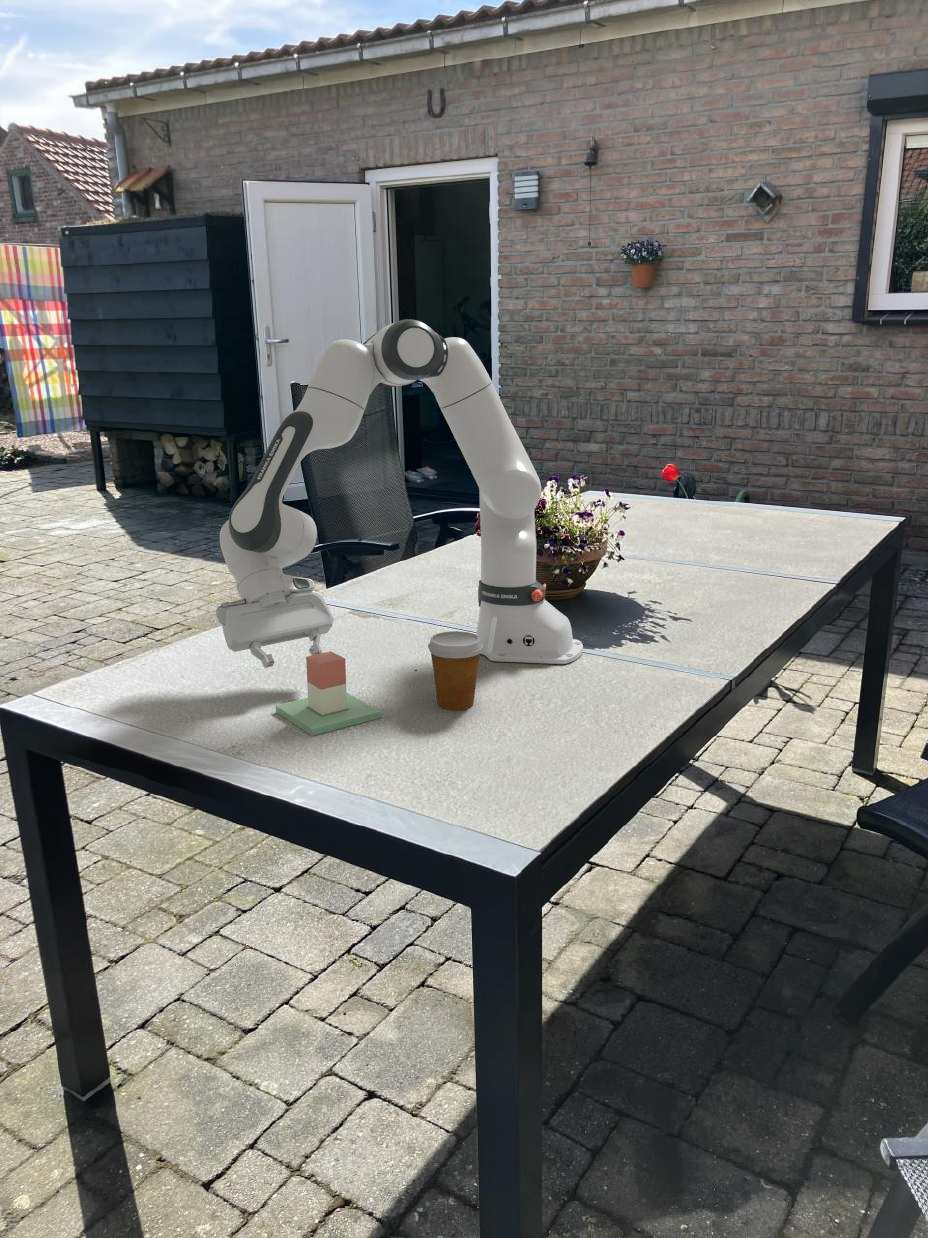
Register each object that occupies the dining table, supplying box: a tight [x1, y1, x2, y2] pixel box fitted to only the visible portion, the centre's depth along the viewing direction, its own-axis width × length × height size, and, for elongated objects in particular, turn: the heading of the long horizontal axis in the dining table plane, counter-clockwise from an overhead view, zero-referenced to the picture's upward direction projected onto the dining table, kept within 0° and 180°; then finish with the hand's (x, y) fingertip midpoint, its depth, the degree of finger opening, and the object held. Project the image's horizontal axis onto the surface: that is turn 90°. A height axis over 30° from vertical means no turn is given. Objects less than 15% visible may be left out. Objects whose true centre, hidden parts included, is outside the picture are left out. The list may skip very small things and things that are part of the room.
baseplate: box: [275, 692, 381, 737], centre depth 175 cm, size 13×13×1 cm
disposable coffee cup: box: [427, 630, 483, 711], centre depth 179 cm, size 10×10×12 cm
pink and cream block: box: [305, 651, 348, 715], centre depth 174 cm, size 5×5×9 cm
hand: (293, 660), depth 182 cm, fingers open, 8 cm apart
